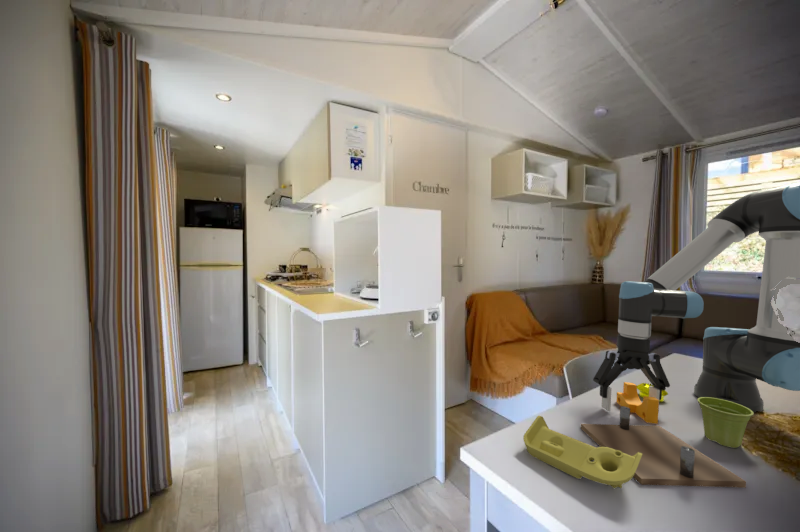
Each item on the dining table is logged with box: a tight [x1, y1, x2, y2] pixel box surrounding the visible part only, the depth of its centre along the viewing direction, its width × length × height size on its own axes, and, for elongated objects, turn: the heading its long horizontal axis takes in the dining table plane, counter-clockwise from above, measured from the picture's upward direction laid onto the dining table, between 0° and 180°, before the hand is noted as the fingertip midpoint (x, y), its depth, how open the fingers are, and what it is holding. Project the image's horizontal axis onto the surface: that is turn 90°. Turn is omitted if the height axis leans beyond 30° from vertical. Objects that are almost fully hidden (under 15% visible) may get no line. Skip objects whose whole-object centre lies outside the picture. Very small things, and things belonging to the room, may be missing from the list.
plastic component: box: [523, 415, 642, 489], centre depth 64 cm, size 20×8×10 cm
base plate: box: [580, 423, 747, 488], centre depth 70 cm, size 20×20×1 cm
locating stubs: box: [619, 406, 695, 478], centre depth 70 cm, size 2×19×5 cm, turn 0°
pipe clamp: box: [616, 381, 660, 425], centre depth 89 cm, size 12×4×6 cm, turn 171°
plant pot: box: [696, 397, 755, 449], centre depth 76 cm, size 9×9×9 cm
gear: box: [636, 382, 669, 403], centre depth 100 cm, size 8×4×8 cm
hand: (629, 409), depth 90 cm, fingers open, 13 cm apart
